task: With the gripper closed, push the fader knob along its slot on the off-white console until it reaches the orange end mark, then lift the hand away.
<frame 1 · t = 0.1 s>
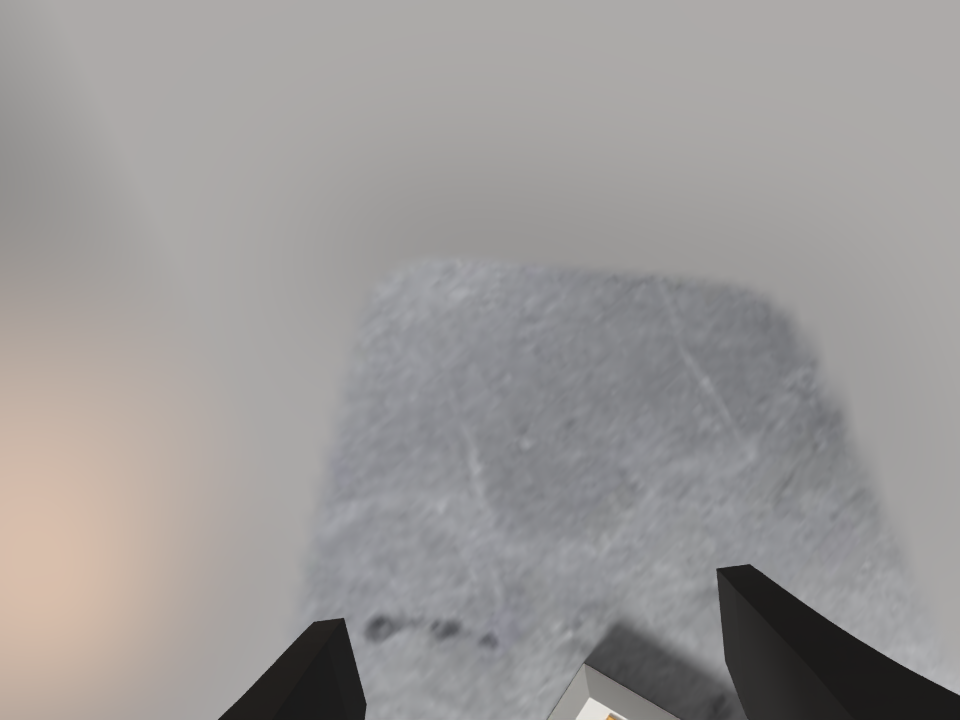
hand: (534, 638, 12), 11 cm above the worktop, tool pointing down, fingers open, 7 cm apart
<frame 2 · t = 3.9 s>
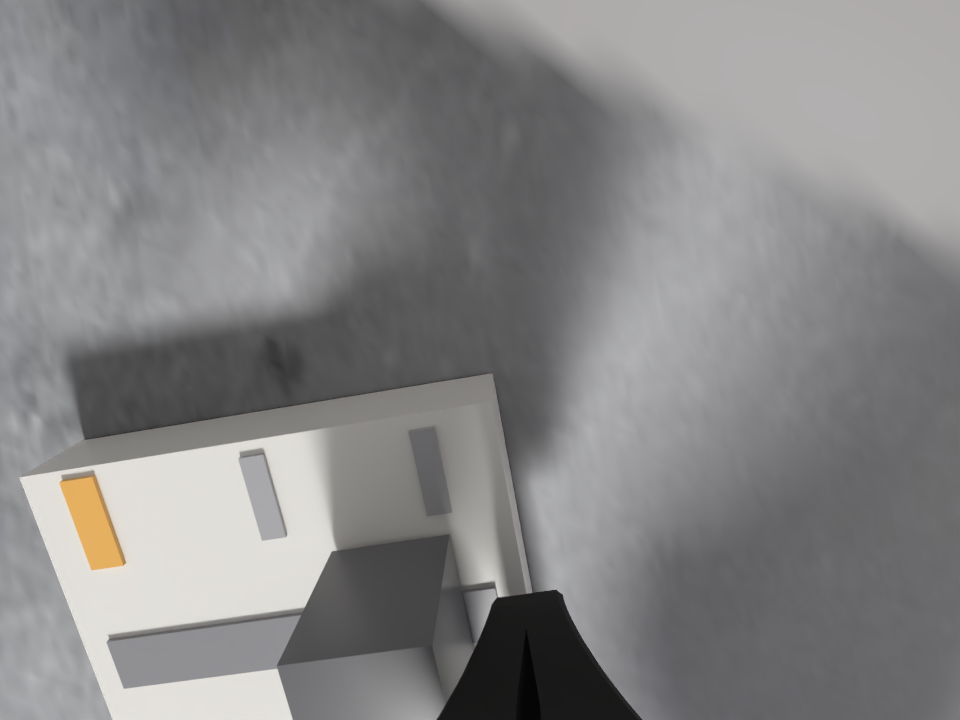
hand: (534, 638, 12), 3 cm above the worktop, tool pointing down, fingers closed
console: (329, 581, 15), on the worktop
fader knob: (398, 687, 12), point 4 cm above the worktop, slide at 1.1 cm, touching gripper
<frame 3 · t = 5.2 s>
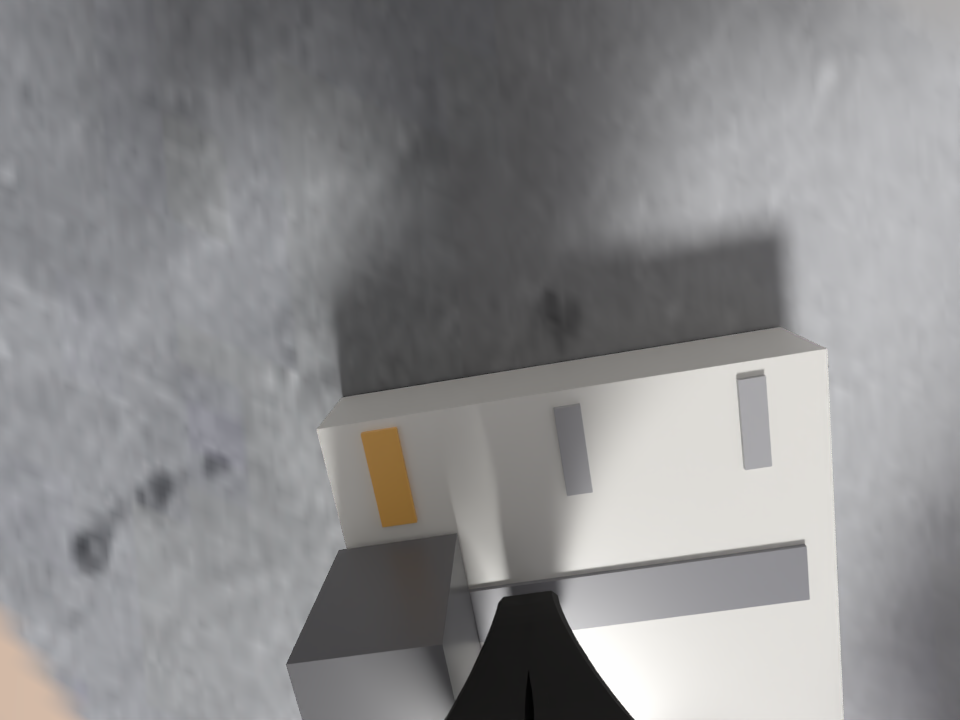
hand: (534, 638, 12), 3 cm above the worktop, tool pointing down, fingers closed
console: (583, 546, 15), on the worktop
fader knob: (406, 686, 11), point 4 cm above the worktop, slide at 7.1 cm, touching gripper
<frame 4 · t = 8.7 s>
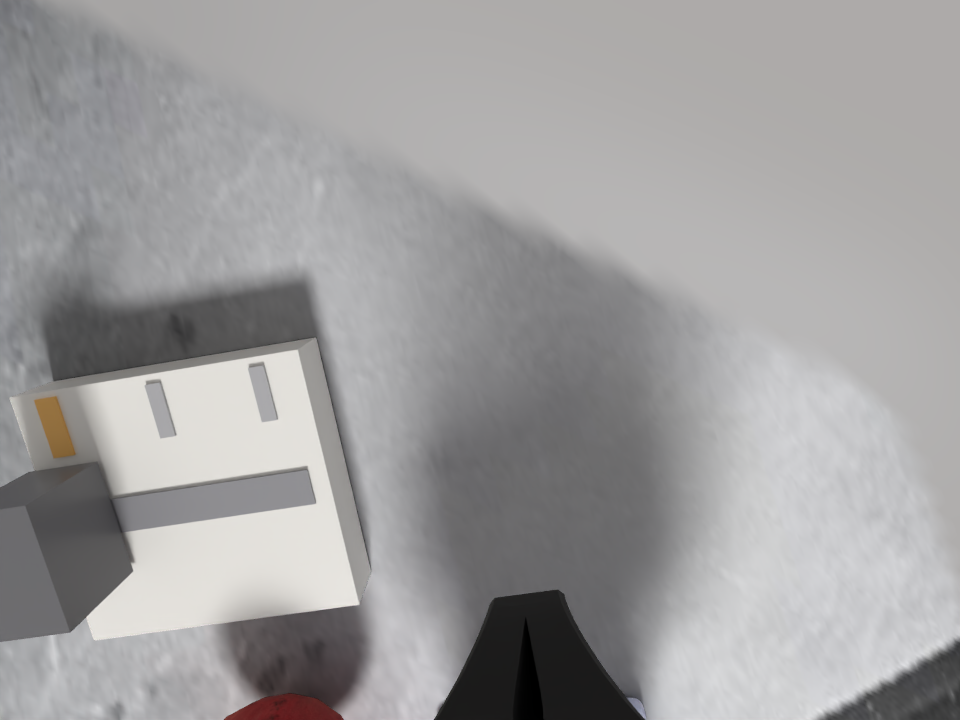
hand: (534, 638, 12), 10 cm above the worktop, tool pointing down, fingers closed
onion: (308, 705, 25), on the worktop
console: (216, 479, 23), on the worktop
fader knob: (48, 547, 19), point 4 cm above the worktop, slide at 7.1 cm
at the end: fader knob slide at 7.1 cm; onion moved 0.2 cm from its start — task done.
